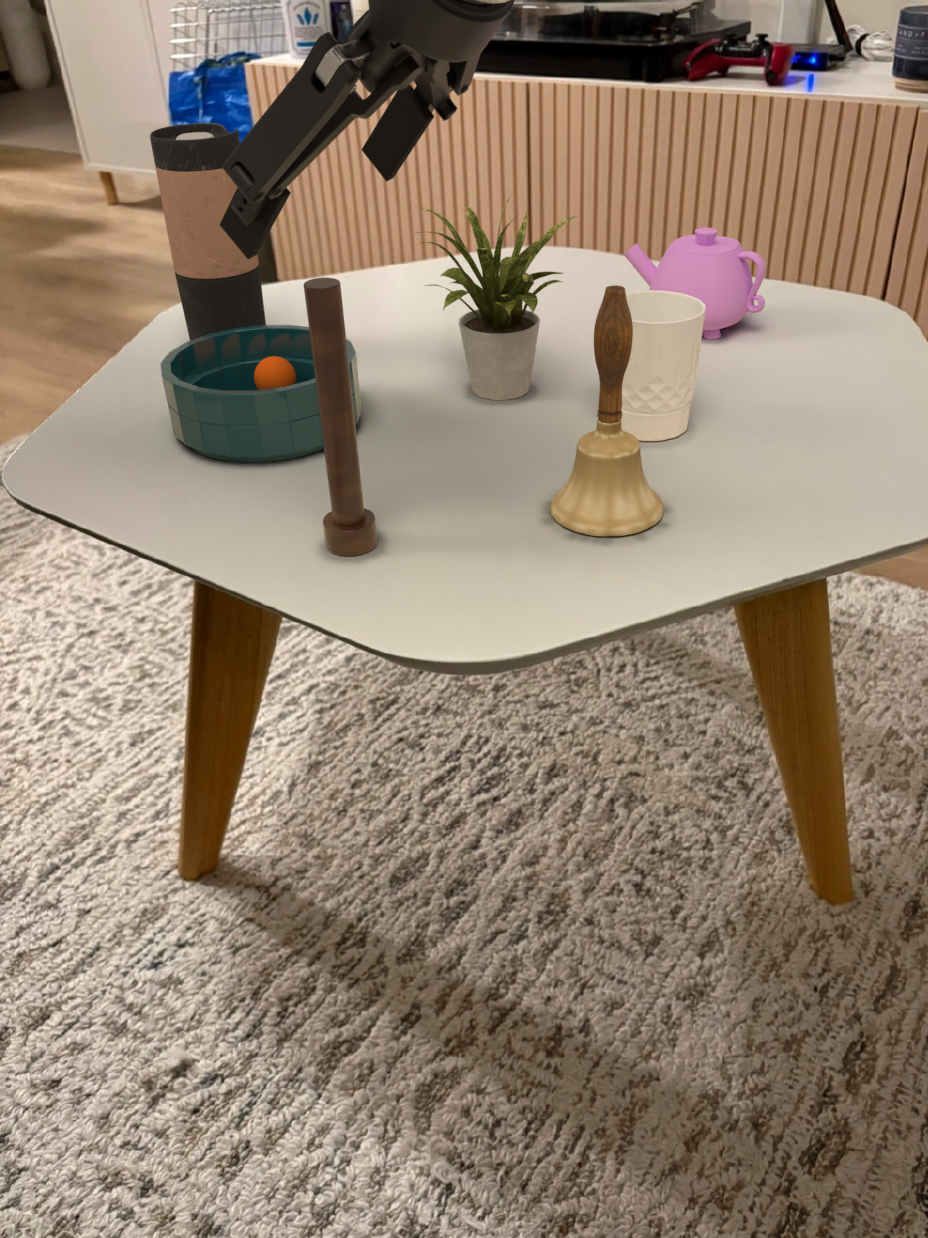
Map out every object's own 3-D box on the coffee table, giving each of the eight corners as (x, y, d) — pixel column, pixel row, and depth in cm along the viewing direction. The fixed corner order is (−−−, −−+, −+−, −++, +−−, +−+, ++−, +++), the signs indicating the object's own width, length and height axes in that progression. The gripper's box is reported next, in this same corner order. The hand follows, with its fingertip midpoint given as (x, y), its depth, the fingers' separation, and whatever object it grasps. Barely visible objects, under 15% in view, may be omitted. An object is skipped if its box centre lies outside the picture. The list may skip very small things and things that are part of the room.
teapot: (743, 351, 106) (755, 251, 100) (601, 328, 111) (604, 232, 106) (777, 319, 113) (789, 223, 107) (641, 298, 119) (646, 207, 113)
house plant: (378, 404, 97) (360, 208, 87) (450, 352, 107) (441, 171, 97) (526, 431, 92) (525, 226, 82) (587, 373, 102) (592, 184, 92)
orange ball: (253, 405, 95) (246, 365, 93) (262, 389, 98) (256, 349, 96) (294, 405, 95) (289, 364, 93) (302, 389, 98) (297, 349, 96)
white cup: (663, 453, 88) (673, 329, 82) (582, 430, 92) (585, 309, 86) (712, 420, 93) (723, 301, 87) (632, 399, 97) (638, 283, 91)
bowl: (152, 466, 88) (135, 394, 84) (202, 390, 100) (190, 324, 96) (346, 466, 87) (338, 393, 83) (373, 390, 99) (366, 324, 96)
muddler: (321, 556, 76) (286, 292, 65) (330, 531, 79) (297, 273, 68) (373, 556, 76) (346, 291, 65) (380, 531, 78) (355, 273, 68)
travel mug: (182, 372, 104) (136, 140, 92) (203, 343, 110) (162, 122, 98) (262, 372, 103) (227, 139, 91) (279, 343, 110) (247, 121, 98)
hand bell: (531, 497, 82) (530, 280, 73) (628, 475, 85) (640, 263, 75) (581, 547, 76) (587, 317, 67) (685, 522, 79) (705, 297, 69)
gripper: (343, 87, 50) (212, 326, 68) (633, -51, 63) (461, 178, 81) (231, -56, 49) (128, 225, 66) (551, -166, 62) (394, 92, 80)
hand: (310, 200), depth 74 cm, fingers open, 13 cm apart
